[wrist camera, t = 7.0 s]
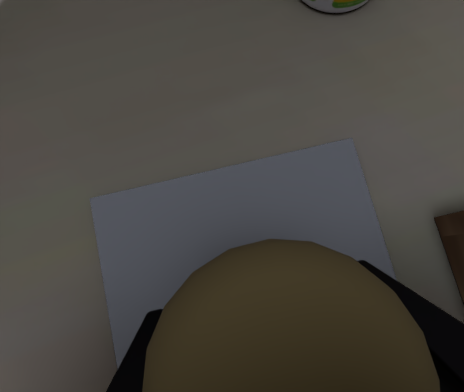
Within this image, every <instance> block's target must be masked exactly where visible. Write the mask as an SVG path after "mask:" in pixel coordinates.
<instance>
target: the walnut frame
mask: <svg viewBox="0 0 464 392" xmlns="http://www.w3.org/2000/svg"><path fill="white" fill-rule="evenodd" d="M434 219H435V221H436V224H437V227H438V230H439V233H440V236H441V239H442V242H443V245H444V248H445V250H446V253H447V256H448V259H449V262H450V265H451V268H452V271H453V274H454V277H455V279H456V282H457V285H458V288H459V291H460V294H461V297H462V300H463V303H464V211H460V212H456V213H452V214H447V215H443V216H439V217H435V218H434Z"/></svg>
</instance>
